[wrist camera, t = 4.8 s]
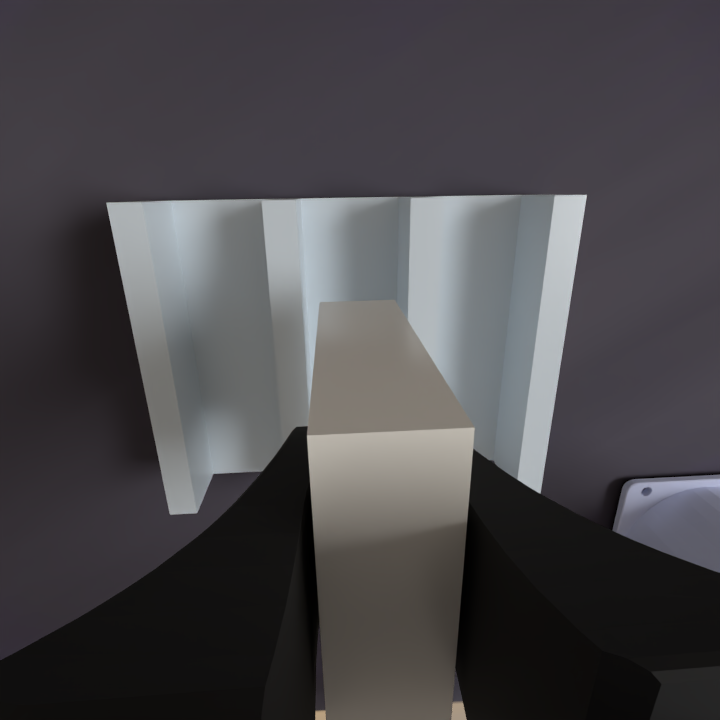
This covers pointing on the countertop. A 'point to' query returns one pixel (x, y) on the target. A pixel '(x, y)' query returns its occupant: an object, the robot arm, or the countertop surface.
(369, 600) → the cream tile
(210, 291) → the drying rack
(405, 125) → the countertop surface
